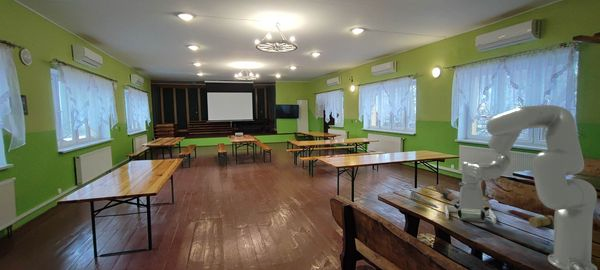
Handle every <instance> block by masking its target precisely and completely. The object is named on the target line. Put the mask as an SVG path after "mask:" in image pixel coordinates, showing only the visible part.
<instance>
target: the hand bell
mask: <svg viewBox="0 0 600 270" xmlns="http://www.w3.org/2000/svg"><path fill="white" fill-rule="evenodd" d="M485 180H486V179H484V180H481V181H480V188H481V189H482V193H483V200H485V201H487V202H489V203H490V200H489V198H488V197H487V196H486V190H487V183H486V181H485ZM486 206H487V204H485V203H484V207H483V208H485V207H486ZM489 209H491V210H493V206H492V205H491V207H490V208H489Z"/></svg>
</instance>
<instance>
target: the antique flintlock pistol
mask: <svg viewBox="0 0 600 270" xmlns="http://www.w3.org/2000/svg"><path fill="white" fill-rule="evenodd" d="M434 189H435V190H436V191H437V192H438V194H440V195H442V197H444V198H445V199H448V200H450V201H452V200H455V199H457V198H459V196H456V195H455V194H453V192H451V191H450V190H449V189H447V187H446V186H445V185H444V184H443V183H442V182H441V183H437V185H435V186H434ZM457 203H459V201H458V202H457Z"/></svg>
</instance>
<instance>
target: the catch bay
mask: <svg viewBox="0 0 600 270" xmlns="http://www.w3.org/2000/svg"><path fill="white" fill-rule="evenodd" d="M461 210H474V211H481V209H470V208H462V209H461ZM444 212H445V216H446V219H447V220H449V219H450V215H449V212H450V213H451V212H454V213H457V209H456V208H455V207H454V205H446V204H445V205H444ZM485 214H486V216H489V218H490V219H491V221H492V222H493V224H497V217H496V215H495V214H494V212H493V211H492V209H489V210H487V211H486V212H485Z"/></svg>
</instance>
